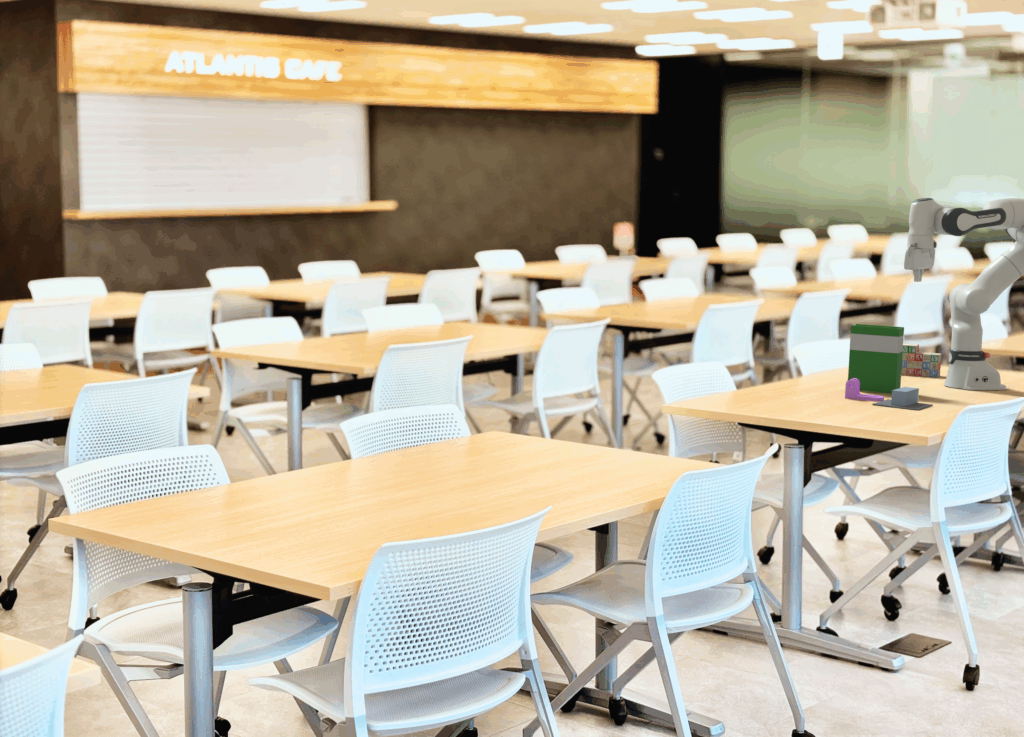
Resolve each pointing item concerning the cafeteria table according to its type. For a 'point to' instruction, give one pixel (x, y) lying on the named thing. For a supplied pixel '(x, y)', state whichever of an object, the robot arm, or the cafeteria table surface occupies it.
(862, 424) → the cafeteria table surface
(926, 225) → the robot arm
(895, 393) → the slate block
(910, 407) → the mat
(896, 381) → the hardback book
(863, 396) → the bracket
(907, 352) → the stack of blocks
